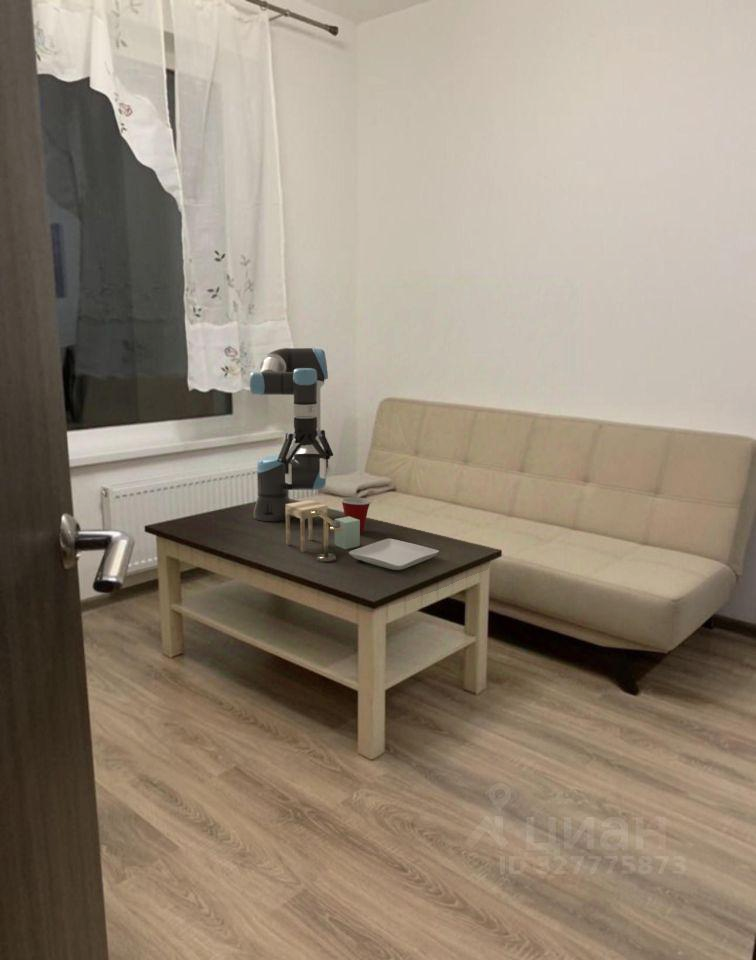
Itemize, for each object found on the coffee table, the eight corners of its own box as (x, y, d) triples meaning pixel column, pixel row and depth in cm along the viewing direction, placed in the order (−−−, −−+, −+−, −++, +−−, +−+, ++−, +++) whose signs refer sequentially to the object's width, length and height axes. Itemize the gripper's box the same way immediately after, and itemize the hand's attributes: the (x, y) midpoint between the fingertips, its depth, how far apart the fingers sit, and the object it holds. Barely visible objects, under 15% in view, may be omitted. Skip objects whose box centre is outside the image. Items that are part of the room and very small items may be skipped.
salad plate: (388, 546, 254) (388, 536, 253) (440, 559, 241) (440, 549, 240) (346, 561, 238) (346, 551, 237) (399, 576, 225) (400, 566, 224)
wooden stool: (286, 544, 254) (285, 504, 251) (310, 539, 260) (310, 499, 257) (302, 551, 246) (301, 510, 243) (327, 546, 252) (327, 505, 249)
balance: (305, 555, 243) (305, 510, 239) (321, 551, 246) (321, 507, 243) (332, 567, 231) (332, 520, 228) (347, 563, 235) (347, 517, 232)
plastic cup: (377, 532, 269) (377, 499, 266) (354, 538, 262) (354, 504, 259) (357, 525, 277) (357, 494, 274) (334, 531, 270) (334, 498, 267)
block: (334, 544, 254) (334, 519, 252) (348, 541, 258) (349, 516, 256) (345, 549, 249) (345, 523, 247) (359, 545, 253) (359, 520, 251)
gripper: (278, 421, 233) (279, 487, 238) (343, 415, 248) (343, 477, 253) (265, 418, 239) (267, 483, 243) (330, 412, 254) (330, 473, 259)
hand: (306, 480), depth 248 cm, fingers open, 13 cm apart
